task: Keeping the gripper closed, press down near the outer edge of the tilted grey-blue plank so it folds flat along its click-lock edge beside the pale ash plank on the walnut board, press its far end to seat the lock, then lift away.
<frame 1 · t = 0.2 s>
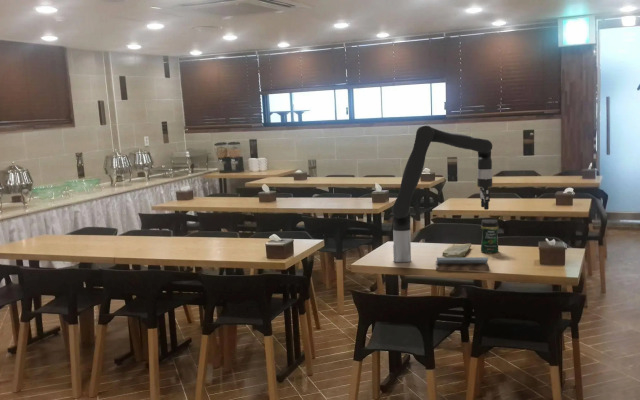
hand: (484, 208, 324), 28 cm above the table, fingers open, 8 cm apart
stone slab: (457, 253, 349), on the table
floor board: (461, 266, 316), on the table
coffee jar: (489, 252, 348), on the table
tilted plank: (461, 260, 313), point 4 cm above the table, hinge at 30.0°
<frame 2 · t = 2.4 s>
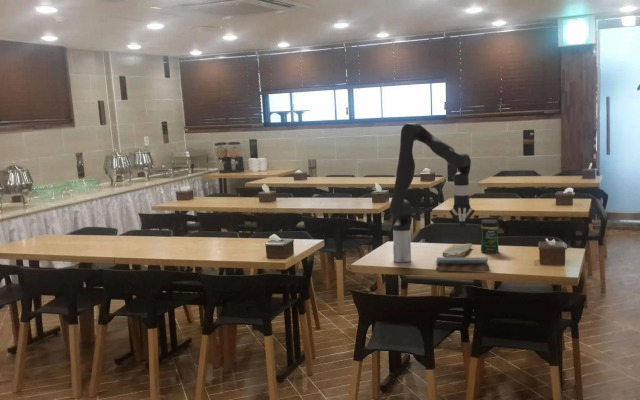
hand: (462, 228, 308), 21 cm above the table, fingers closed
nothing on the table moved.
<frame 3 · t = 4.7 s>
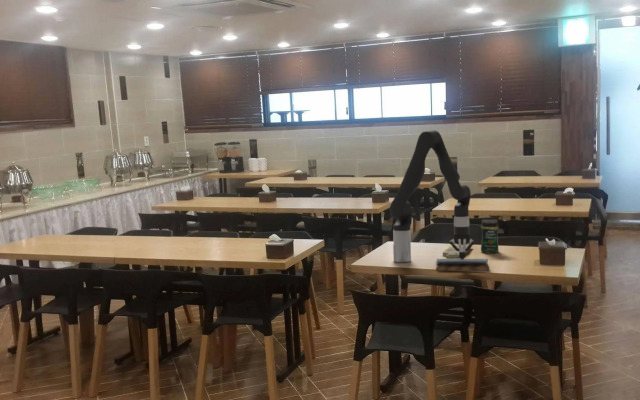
hand: (462, 259, 309), 6 cm above the table, fingers closed
tilted plank: (461, 261, 313), point 4 cm above the table, hinge at 24.1°, touching gripper
everything else where it was.
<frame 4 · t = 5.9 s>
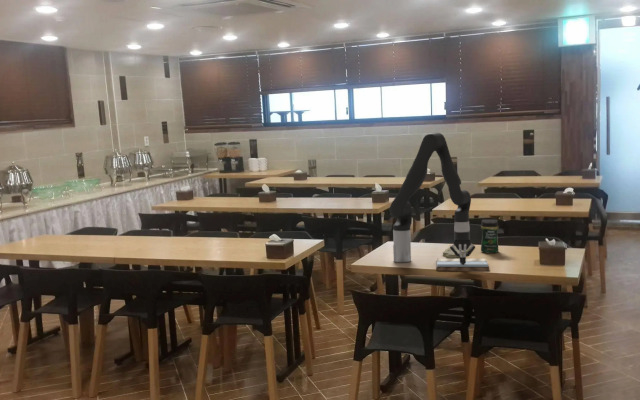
hand: (462, 264, 309), 3 cm above the table, fingers closed
tilted plank: (462, 263, 313), point 2 cm above the table, hinge at 1.2°, touching gripper
everything else where it was.
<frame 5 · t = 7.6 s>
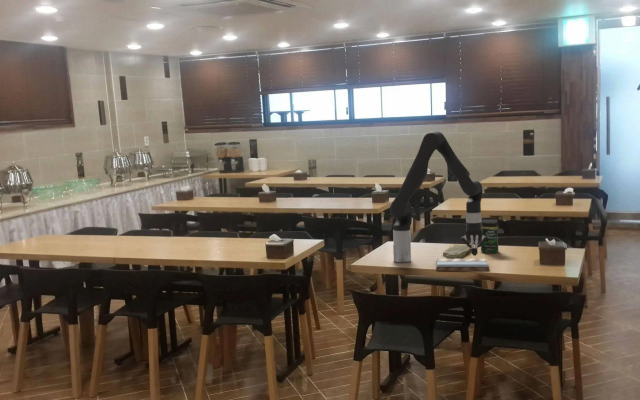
hand: (474, 255, 308), 8 cm above the table, fingers closed
tilted plank: (462, 263, 313), point 2 cm above the table, hinge at 0.9°
everything else where it was.
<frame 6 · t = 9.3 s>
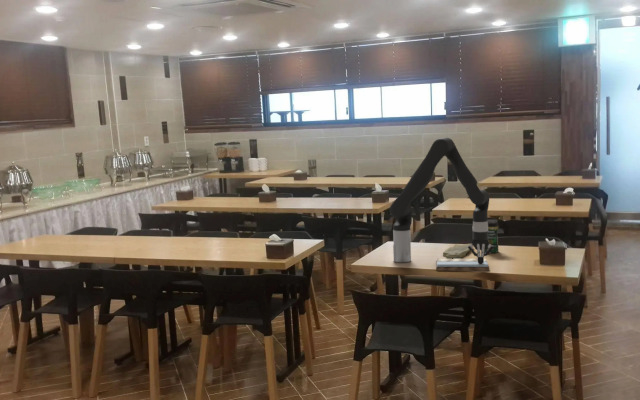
hand: (480, 264, 309), 3 cm above the table, fingers closed
tilted plank: (462, 263, 313), point 2 cm above the table, hinge at 0.9°, touching gripper
everything else where it was.
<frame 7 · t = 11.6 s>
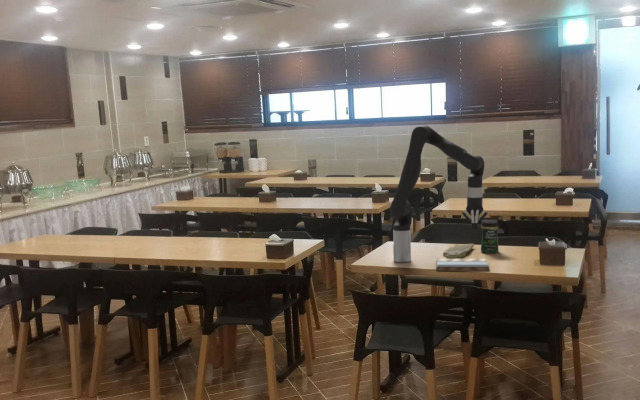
hand: (474, 230, 309), 20 cm above the table, fingers closed
tilted plank: (462, 264, 313), point 2 cm above the table, hinge at 0.3°
everything else where it was.
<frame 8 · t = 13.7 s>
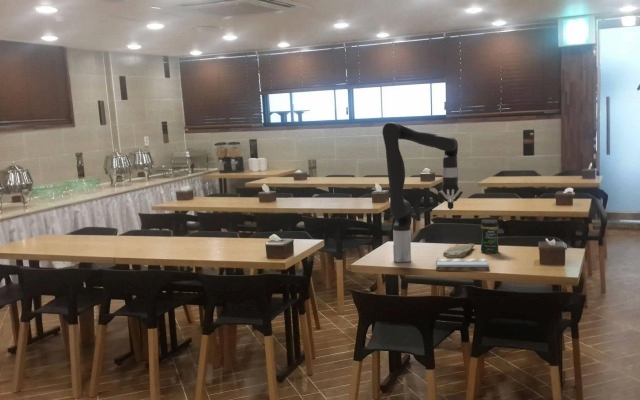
hand: (450, 209, 321), 29 cm above the table, fingers closed
nothing on the table moved.
at the end: tilted plank at +0° (first picture: +30°); stone slab moved 1.1 cm from its start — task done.
